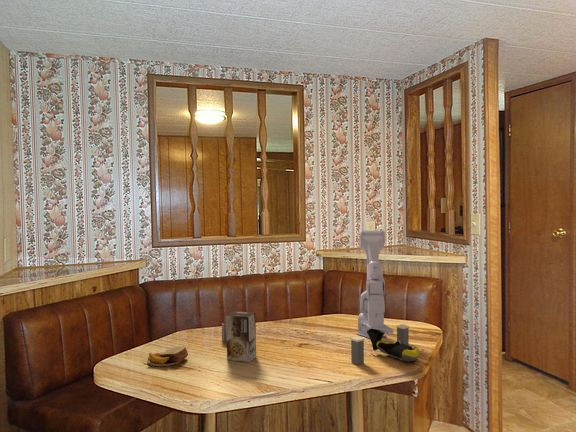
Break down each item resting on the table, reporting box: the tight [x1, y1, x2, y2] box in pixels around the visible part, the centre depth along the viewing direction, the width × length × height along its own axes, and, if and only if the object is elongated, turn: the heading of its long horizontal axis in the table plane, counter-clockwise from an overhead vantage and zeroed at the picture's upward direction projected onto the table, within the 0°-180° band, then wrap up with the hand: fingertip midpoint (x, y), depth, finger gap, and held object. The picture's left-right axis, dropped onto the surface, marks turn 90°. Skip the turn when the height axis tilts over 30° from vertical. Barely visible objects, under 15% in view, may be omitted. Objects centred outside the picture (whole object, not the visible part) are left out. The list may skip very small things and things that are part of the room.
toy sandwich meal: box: [147, 346, 189, 367], centre depth 153 cm, size 12×14×5 cm
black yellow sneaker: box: [376, 340, 420, 362], centre depth 153 cm, size 15×6×10 cm
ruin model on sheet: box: [221, 322, 227, 343], centre depth 177 cm, size 11×3×10 cm, turn 115°
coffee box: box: [225, 310, 257, 363], centre depth 155 cm, size 9×6×16 cm
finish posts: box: [350, 323, 410, 366], centre depth 156 cm, size 3×27×9 cm, turn 126°
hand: (376, 349), depth 158 cm, fingers closed
